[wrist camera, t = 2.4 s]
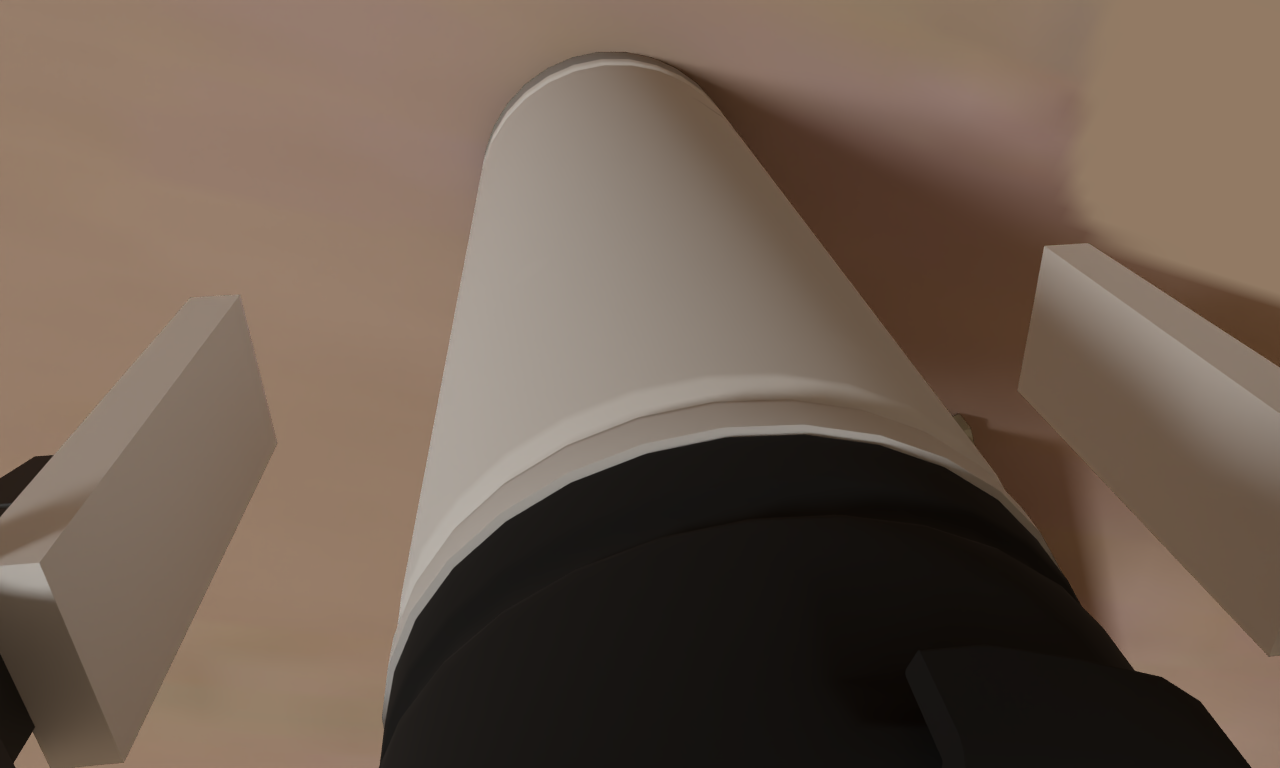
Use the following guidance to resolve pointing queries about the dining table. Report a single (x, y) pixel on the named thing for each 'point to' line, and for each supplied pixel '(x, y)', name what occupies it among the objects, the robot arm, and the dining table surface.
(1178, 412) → the robot arm
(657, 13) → the dining table surface
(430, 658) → the travel mug
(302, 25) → the dining table surface
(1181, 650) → the dining table surface
